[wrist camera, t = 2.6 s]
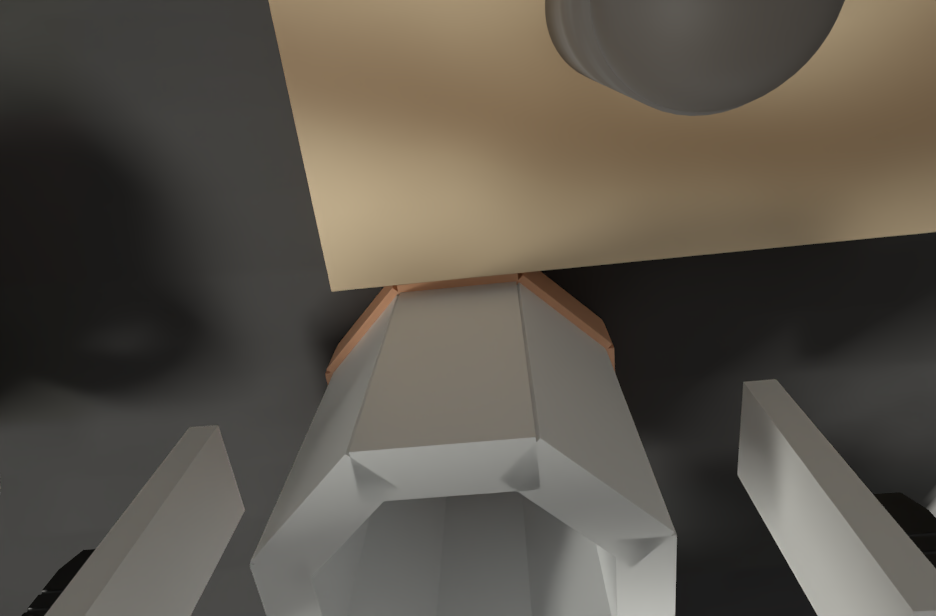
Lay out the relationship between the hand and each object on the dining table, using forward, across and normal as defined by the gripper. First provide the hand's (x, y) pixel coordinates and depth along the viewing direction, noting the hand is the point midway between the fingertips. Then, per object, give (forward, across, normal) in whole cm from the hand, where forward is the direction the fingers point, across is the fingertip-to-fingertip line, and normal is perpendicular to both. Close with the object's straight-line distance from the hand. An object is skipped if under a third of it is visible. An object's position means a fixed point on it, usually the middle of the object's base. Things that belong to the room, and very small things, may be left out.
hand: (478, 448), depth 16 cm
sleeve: (+3, 0, 0) cm, 3 cm away
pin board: (+3, +4, +15) cm, 16 cm away
